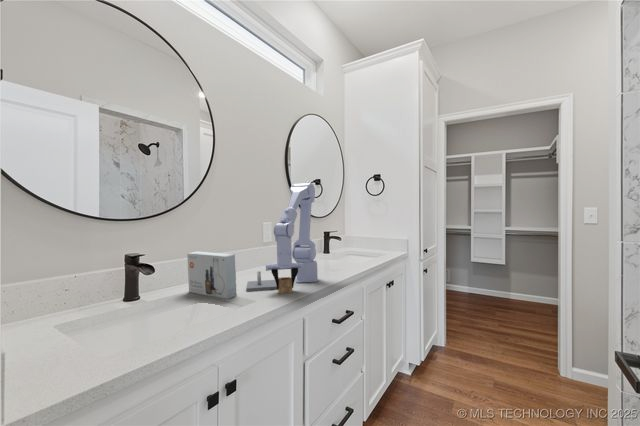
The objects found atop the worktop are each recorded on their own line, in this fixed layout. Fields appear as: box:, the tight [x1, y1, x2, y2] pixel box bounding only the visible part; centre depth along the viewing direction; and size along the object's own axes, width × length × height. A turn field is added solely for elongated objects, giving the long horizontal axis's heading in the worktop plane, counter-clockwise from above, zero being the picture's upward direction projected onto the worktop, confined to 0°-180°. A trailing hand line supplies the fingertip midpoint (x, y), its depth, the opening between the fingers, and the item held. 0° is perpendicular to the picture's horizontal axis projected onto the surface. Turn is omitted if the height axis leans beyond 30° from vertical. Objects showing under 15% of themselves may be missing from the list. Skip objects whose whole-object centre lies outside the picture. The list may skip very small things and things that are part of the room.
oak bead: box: [277, 276, 293, 294], centre depth 114 cm, size 5×5×5 cm
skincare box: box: [186, 251, 238, 300], centre depth 113 cm, size 21×5×16 cm, turn 62°
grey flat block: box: [245, 270, 278, 293], centre depth 123 cm, size 18×12×7 cm, turn 101°
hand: (285, 287), depth 114 cm, fingers closed on oak bead, 5 cm apart
